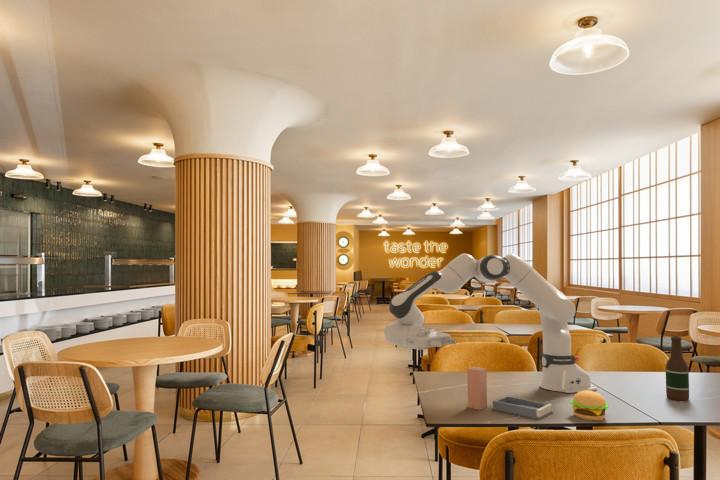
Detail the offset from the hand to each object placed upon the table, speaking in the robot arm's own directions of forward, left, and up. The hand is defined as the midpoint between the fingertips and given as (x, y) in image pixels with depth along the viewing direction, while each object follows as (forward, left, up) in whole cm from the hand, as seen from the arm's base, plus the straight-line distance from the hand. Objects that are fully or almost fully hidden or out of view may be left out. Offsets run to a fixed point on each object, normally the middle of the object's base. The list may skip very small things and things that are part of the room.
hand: (448, 343), depth 197 cm
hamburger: (-42, +25, -22) cm, 54 cm away
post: (-8, +9, -22) cm, 25 cm away
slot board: (-22, +16, -22) cm, 35 cm away
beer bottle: (-89, +8, -22) cm, 92 cm away
